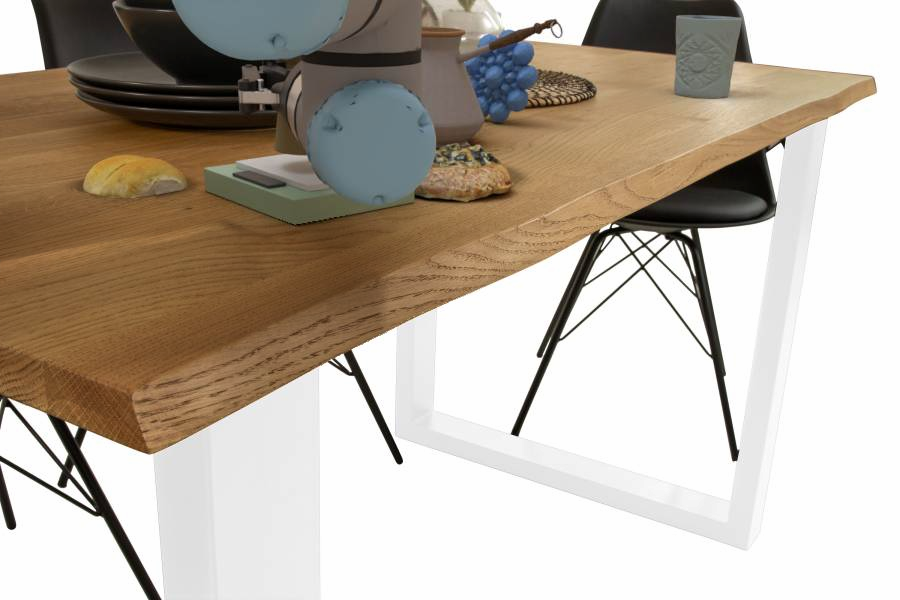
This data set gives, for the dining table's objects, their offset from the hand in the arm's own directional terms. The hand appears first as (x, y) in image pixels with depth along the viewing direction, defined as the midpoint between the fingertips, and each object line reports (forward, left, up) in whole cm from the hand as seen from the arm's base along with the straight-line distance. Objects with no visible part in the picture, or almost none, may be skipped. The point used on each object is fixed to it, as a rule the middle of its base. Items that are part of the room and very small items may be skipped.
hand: (298, 68), depth 94 cm
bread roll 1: (-15, +3, -11) cm, 19 cm away
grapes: (+41, +13, -11) cm, 44 cm away
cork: (-2, -5, -7) cm, 9 cm away
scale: (-2, -5, -11) cm, 12 cm away
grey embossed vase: (+86, +13, -11) cm, 87 cm away
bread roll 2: (+11, -11, -11) cm, 19 cm away
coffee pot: (+26, +3, -11) cm, 28 cm away
